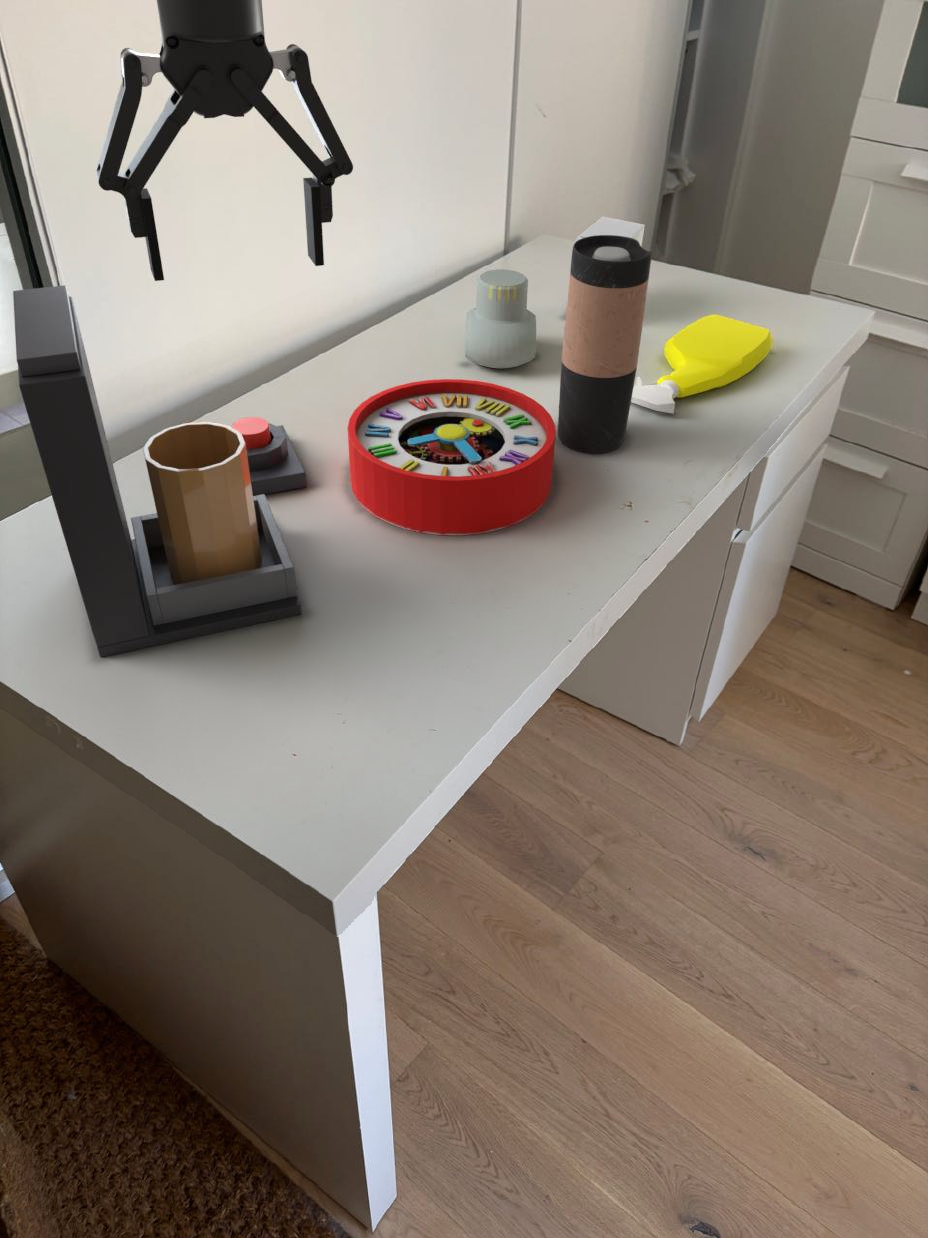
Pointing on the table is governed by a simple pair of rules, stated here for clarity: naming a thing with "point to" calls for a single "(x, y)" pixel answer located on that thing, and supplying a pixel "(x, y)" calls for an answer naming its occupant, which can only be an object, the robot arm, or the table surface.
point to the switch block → (275, 465)
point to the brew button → (253, 431)
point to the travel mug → (601, 341)
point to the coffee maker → (93, 510)
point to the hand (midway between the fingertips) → (238, 267)
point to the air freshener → (501, 321)
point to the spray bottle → (705, 360)
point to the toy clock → (451, 456)
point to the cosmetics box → (614, 229)
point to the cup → (203, 500)
